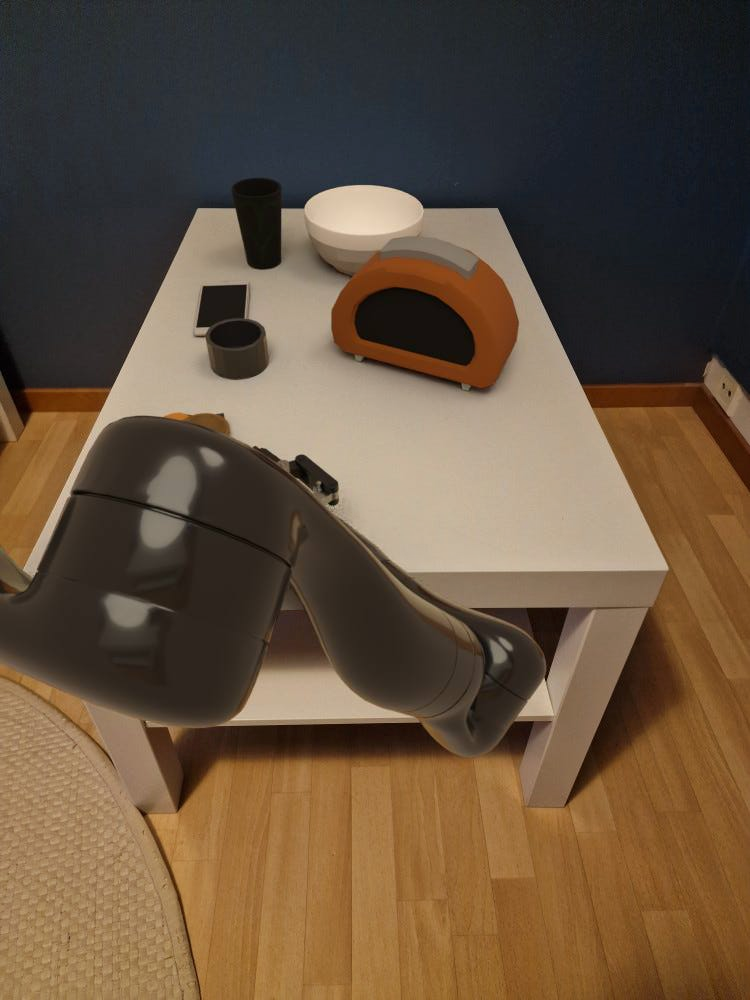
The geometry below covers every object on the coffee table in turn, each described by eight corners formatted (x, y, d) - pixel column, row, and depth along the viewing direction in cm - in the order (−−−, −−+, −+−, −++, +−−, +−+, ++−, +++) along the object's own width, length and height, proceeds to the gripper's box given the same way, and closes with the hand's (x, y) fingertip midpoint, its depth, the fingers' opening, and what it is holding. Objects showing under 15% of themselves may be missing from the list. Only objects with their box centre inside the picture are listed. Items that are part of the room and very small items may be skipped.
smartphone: (192, 333, 97) (201, 281, 107) (193, 337, 97) (202, 285, 108) (246, 331, 97) (249, 279, 108) (246, 335, 98) (250, 283, 108)
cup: (265, 277, 110) (256, 201, 101) (231, 263, 113) (220, 188, 105) (297, 259, 114) (291, 185, 106) (263, 246, 118) (256, 173, 109)
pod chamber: (214, 383, 90) (208, 354, 87) (207, 351, 95) (202, 322, 92) (273, 374, 92) (270, 345, 88) (263, 343, 97) (260, 314, 94)
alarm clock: (330, 357, 95) (325, 239, 83) (357, 325, 100) (357, 211, 88) (493, 401, 88) (514, 281, 76) (513, 365, 94) (535, 247, 82)
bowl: (411, 233, 122) (413, 183, 115) (429, 286, 109) (433, 232, 102) (304, 237, 120) (301, 186, 114) (310, 292, 107) (306, 237, 101)
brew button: (163, 447, 76) (159, 435, 75) (160, 427, 79) (157, 415, 78) (195, 441, 77) (192, 429, 76) (192, 422, 80) (189, 410, 78)
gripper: (388, 493, 61) (270, 412, 69) (262, 585, 54) (146, 482, 61) (385, 548, 66) (276, 467, 74) (271, 638, 59) (163, 537, 67)
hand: (217, 474), depth 68 cm, fingers open, 8 cm apart
